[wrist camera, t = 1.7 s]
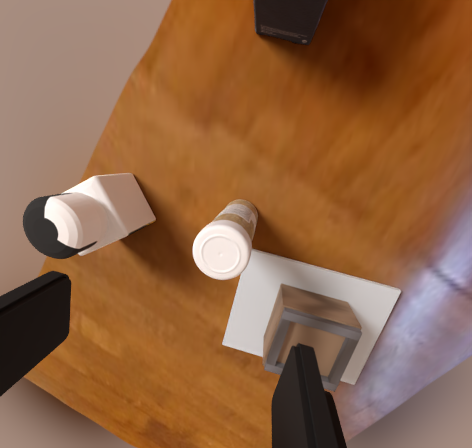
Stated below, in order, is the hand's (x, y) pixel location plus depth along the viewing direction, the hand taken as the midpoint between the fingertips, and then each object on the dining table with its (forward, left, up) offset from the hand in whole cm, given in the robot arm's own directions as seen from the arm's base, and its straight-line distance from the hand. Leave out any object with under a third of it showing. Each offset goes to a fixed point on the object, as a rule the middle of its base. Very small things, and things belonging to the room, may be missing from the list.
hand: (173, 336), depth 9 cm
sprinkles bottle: (0, 0, -22) cm, 22 cm away
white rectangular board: (-12, +12, -22) cm, 28 cm away
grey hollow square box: (-12, +12, -22) cm, 28 cm away
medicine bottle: (+16, +3, -22) cm, 28 cm away
